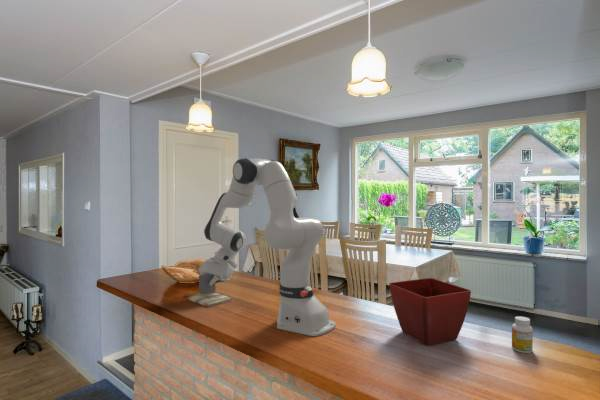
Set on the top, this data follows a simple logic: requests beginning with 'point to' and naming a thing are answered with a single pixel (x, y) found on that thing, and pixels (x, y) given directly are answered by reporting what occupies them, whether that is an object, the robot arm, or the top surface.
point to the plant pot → (430, 309)
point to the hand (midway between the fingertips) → (205, 283)
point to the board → (210, 299)
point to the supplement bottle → (522, 335)
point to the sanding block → (206, 285)
